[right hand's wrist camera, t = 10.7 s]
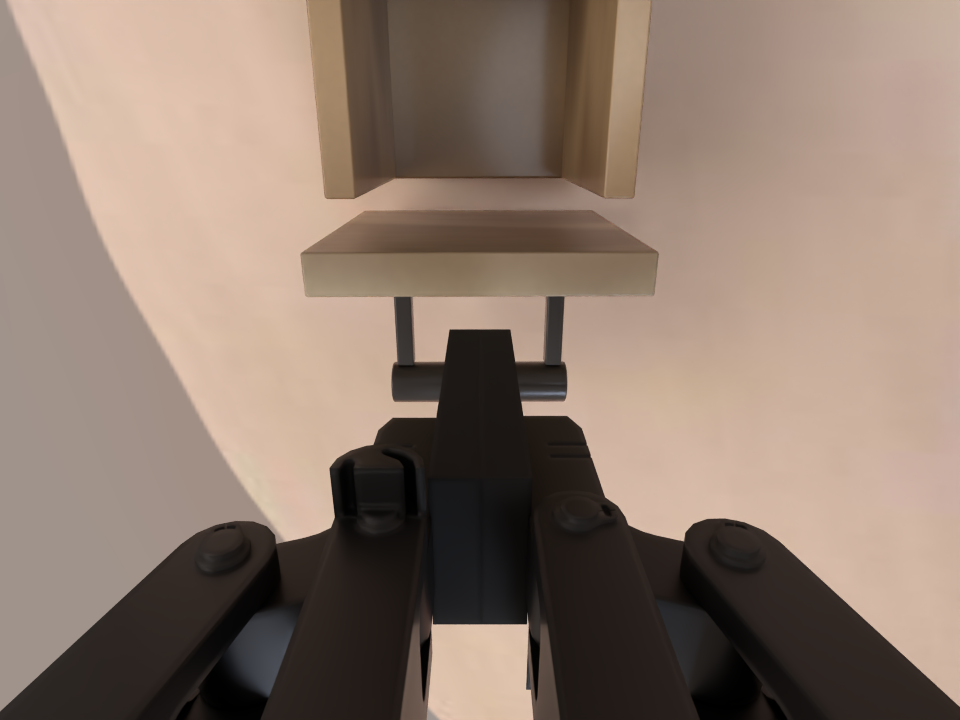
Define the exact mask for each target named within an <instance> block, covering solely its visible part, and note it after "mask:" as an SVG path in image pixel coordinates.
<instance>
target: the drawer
mask: <svg viewBox="0 0 960 720" xmlns="http://www.w3.org/2000/svg"><path fill="white" fill-rule="evenodd" d="M306 1H307V12H308V23H309V33H310V44H311V55H312V66H313V76H314V87H315V98H316V108H317V119H318V130H319V140H320V151H321V162H322V172H323V183H324V194H325V198H326V199H355V198H357V197H359V196H361V195H363V194H365V193H367V192H369V191H371V190H373V189H375V188H377V187H379V186H381V185H383V184H385V183H387V182H389V181H391V180H393V179H395V178H563V179H565V180H568V181H570V182H572V183H574V184H576V185H578V186H580V187H582V188H584V189H586V190H589V191H591V192H593V193H595V194H597V195H599V196H601V197H603V198H634V195H635V184H636V173H637V162H638V151H639V140H640V129H641V118H642V107H643V96H644V85H645V73H646V62H647V51H648V40H649V29H650V18H651V7H652V0H306ZM658 255H659V254H658V252H657V251H655V250H654V249H652V248H651V247H649V246H648V245H646V244H644V243H643V242H641V241H640V240H638V239H636V238H635V237H633V236H632V235H630V234H629V233H627V232H625V231H624V230H622V229H621V228H619V227H618V226H616V225H614V224H613V223H611V222H610V221H608V220H606V219H605V218H603V217H602V216H600V215H599V214H597V213H595V212H594V211H592V210H571V211H364V212H363V213H361V214H360V215H358V216H357V217H355V218H354V219H352V220H350V221H349V222H347V223H346V224H344V225H343V226H341V227H340V228H338V229H337V230H335V231H334V232H332V233H331V234H329V235H328V236H326V237H325V238H323V239H322V240H320V241H319V242H317V243H316V244H314V245H312V246H311V247H309V248H308V249H306V250H305V251H303V252H302V253H301V263H302V272H303V281H304V290H305V295H306V296H307V297H394V306H395V324H396V342H397V360H398V362H395V363H394V364H393V368H392V396H393V400H394V401H395V402H439V397H440V391H441V384H442V377H443V371H444V364H445V362H415V342H414V319H413V297H498V296H546V306H545V331H544V356H543V359H544V362H515V364H516V371H517V377H518V384H519V391H520V397H521V401H565V399H566V395H567V370H566V365H565V362H563V361H561V353H562V334H563V315H564V296H653V295H654V292H655V283H656V274H657V264H658Z"/></svg>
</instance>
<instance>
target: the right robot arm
mask: <svg viewBox="0 0 960 720" xmlns="http://www.w3.org/2000/svg"><path fill="white" fill-rule="evenodd" d="M330 477H331V486H332V495H333V504H334V513H335V519H334V521H333V524H332V527H331V528H330V529H328V530H326V531H323V532H321V533H319V534H316V535H313V536H309V537H306V538H302V539H297V540H293V541H288V542H283V543H279V544H276V539H275V535H274V534H273V533H272V531H271V530H270V529H269V528H268V527H267V526H264V525H261V524H259V523H256V522H250V521H234V522H229V523H224V524H219V525H215V526H213V527H210V528H208V529H206V530H203V531H201V532H198V533H196V534H195V535H194V536H192V537H191V538H189V539H188V540H186V541H185V542H184V543H182V544H181V545H180V546H179V547H178V548H177V549H175V550H174V551H173V552H172V553H171V554H170V555H169V556H168V557H167V558H166V559H165V560H164V561H162V562H161V563H160V564H159V565H158V566H157V567H156V568H155V569H154V570H153V571H152V572H151V573H150V574H148V575H147V576H146V577H145V578H144V579H143V580H142V581H141V582H140V583H139V584H138V585H137V586H135V587H134V588H133V589H132V590H131V591H130V592H129V593H128V594H127V595H126V596H125V597H124V598H123V599H121V600H120V601H119V602H118V603H117V604H116V605H115V606H114V607H113V608H112V609H111V610H110V611H108V612H107V613H106V614H105V615H104V616H103V617H102V618H101V619H100V620H99V621H98V622H97V623H95V624H94V625H93V626H92V627H91V628H90V629H89V630H88V631H87V632H86V633H85V634H84V635H82V636H81V637H80V638H79V639H78V640H77V641H76V642H75V643H74V644H73V645H72V646H71V647H70V648H68V649H67V650H66V651H65V652H64V653H63V654H62V655H61V656H60V657H59V658H58V659H57V660H55V661H54V662H53V663H52V664H51V665H50V666H49V667H48V668H47V669H46V670H45V671H44V672H42V673H41V674H40V675H39V676H38V677H37V678H36V679H35V680H34V681H33V682H32V683H31V684H30V685H28V686H27V687H26V688H25V689H24V690H23V691H22V692H21V693H20V694H19V695H18V696H17V697H15V698H14V699H13V700H12V701H11V702H10V703H9V704H8V705H7V706H6V707H5V708H4V709H3V710H1V711H0V720H426V719H427V708H428V696H429V685H430V673H431V662H432V635H431V625H432V615H433V624H527V612H528V622H529V635H528V659H527V683H526V690H531V695H532V707H533V718H534V720H960V707H959V706H958V705H957V704H956V703H955V702H954V701H953V700H952V699H950V698H949V697H948V696H947V695H946V694H945V693H944V692H943V691H942V690H941V689H940V688H938V687H937V686H936V685H935V684H934V683H933V682H932V681H931V680H930V679H929V678H928V677H926V676H925V675H924V674H923V673H922V672H921V671H920V670H919V669H918V668H917V667H916V666H914V665H913V664H912V663H911V662H910V661H909V660H908V659H907V658H906V657H905V656H904V655H902V654H901V653H900V652H899V651H898V650H897V649H896V648H895V647H894V646H893V645H892V644H890V643H889V642H888V641H887V640H886V639H885V638H884V637H883V636H882V635H881V634H880V633H879V632H877V631H876V630H875V629H874V628H873V627H872V626H871V625H870V624H869V623H868V622H867V621H865V620H864V619H863V618H862V617H861V616H860V615H859V614H858V613H857V612H856V611H855V610H853V609H852V608H851V607H850V606H849V605H848V604H847V603H846V602H845V601H844V600H843V599H841V598H840V597H839V596H838V595H837V594H836V593H835V592H834V591H833V590H832V589H831V588H829V587H828V586H827V585H826V584H825V583H824V582H823V581H822V580H821V579H820V578H819V577H817V576H816V575H815V574H814V573H813V572H812V571H811V570H810V569H809V568H808V567H807V566H806V565H804V564H803V563H802V562H801V561H800V560H799V559H798V558H797V557H796V556H795V555H794V554H792V553H791V552H790V551H789V550H788V549H787V548H786V547H785V546H784V545H783V544H782V543H780V542H779V541H778V540H776V539H775V538H774V537H772V536H771V535H769V534H768V533H767V532H765V531H764V530H761V529H759V528H757V527H754V526H752V525H749V524H747V523H745V522H740V521H735V520H730V519H706V520H703V521H700V522H697V523H694V524H693V525H692V526H691V527H690V528H689V529H688V530H687V531H686V533H685V539H684V541H679V540H674V539H670V538H665V537H660V536H656V535H652V534H649V533H645V532H642V531H640V530H638V529H635V528H633V527H631V526H629V525H628V523H627V521H626V518H625V516H624V515H623V513H622V512H621V510H620V509H619V507H618V506H617V505H615V504H614V503H612V502H611V501H609V500H608V499H607V498H605V496H604V493H603V490H602V487H601V484H600V481H599V478H598V475H597V472H596V469H595V466H594V463H593V460H592V458H591V455H590V452H589V449H588V446H587V443H586V440H585V437H584V434H583V431H582V428H581V427H579V426H578V425H577V424H576V423H575V422H574V421H572V420H571V419H570V418H569V417H568V416H523V411H522V404H521V397H520V391H519V384H518V377H517V371H516V364H515V357H514V351H513V344H512V338H511V331H510V330H450V331H449V338H448V344H447V351H446V357H445V364H444V371H443V377H442V384H441V391H440V397H439V404H438V411H437V417H436V418H392V419H391V420H390V421H389V422H388V423H386V424H385V425H384V426H383V427H382V428H381V429H379V430H378V433H377V436H376V439H375V442H374V445H370V446H364V447H361V448H358V449H355V450H351V451H349V452H347V453H346V454H344V455H342V456H341V457H339V458H337V459H336V461H335V462H334V463H333V464H332V466H331V467H330Z"/></svg>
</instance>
